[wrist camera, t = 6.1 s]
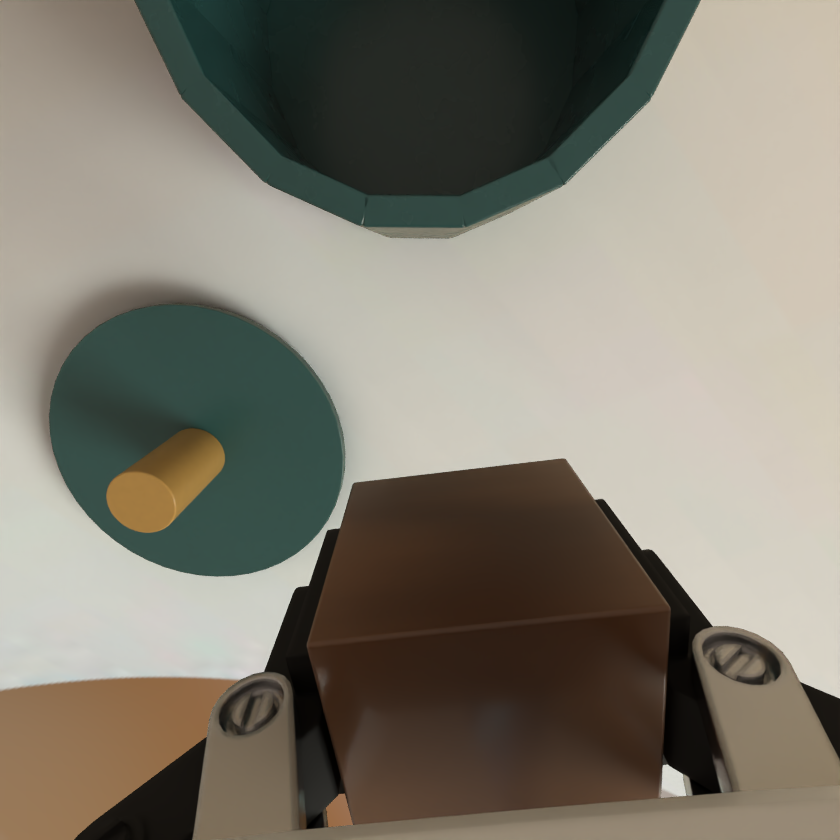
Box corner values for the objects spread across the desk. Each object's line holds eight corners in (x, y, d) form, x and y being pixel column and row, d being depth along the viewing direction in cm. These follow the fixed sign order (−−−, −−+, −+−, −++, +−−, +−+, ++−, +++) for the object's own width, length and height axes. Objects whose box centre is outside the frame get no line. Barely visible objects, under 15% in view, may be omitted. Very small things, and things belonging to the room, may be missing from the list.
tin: (269, 237, 22) (157, 225, 13) (234, -168, 17) (25, -620, 8) (572, 239, 22) (673, 229, 13) (615, -168, 17) (818, -634, 8)
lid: (98, 561, 28) (9, 643, 22) (34, 300, 23) (-102, 316, 17) (352, 565, 27) (331, 650, 22) (341, 303, 23) (310, 320, 17)
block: (384, 647, 13) (363, 874, 8) (352, 481, 11) (304, 645, 7) (571, 628, 13) (660, 850, 8) (565, 456, 11) (673, 607, 6)
